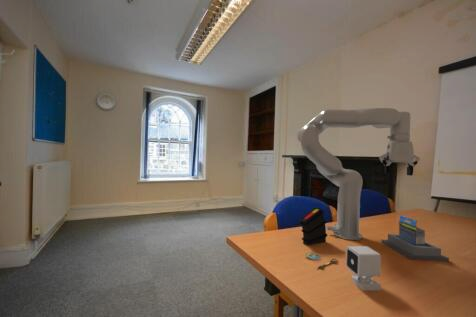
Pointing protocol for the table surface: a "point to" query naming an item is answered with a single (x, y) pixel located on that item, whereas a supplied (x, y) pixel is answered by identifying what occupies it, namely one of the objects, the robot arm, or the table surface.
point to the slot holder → (414, 249)
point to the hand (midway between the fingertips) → (398, 174)
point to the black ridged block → (313, 227)
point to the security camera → (363, 266)
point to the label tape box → (411, 232)
